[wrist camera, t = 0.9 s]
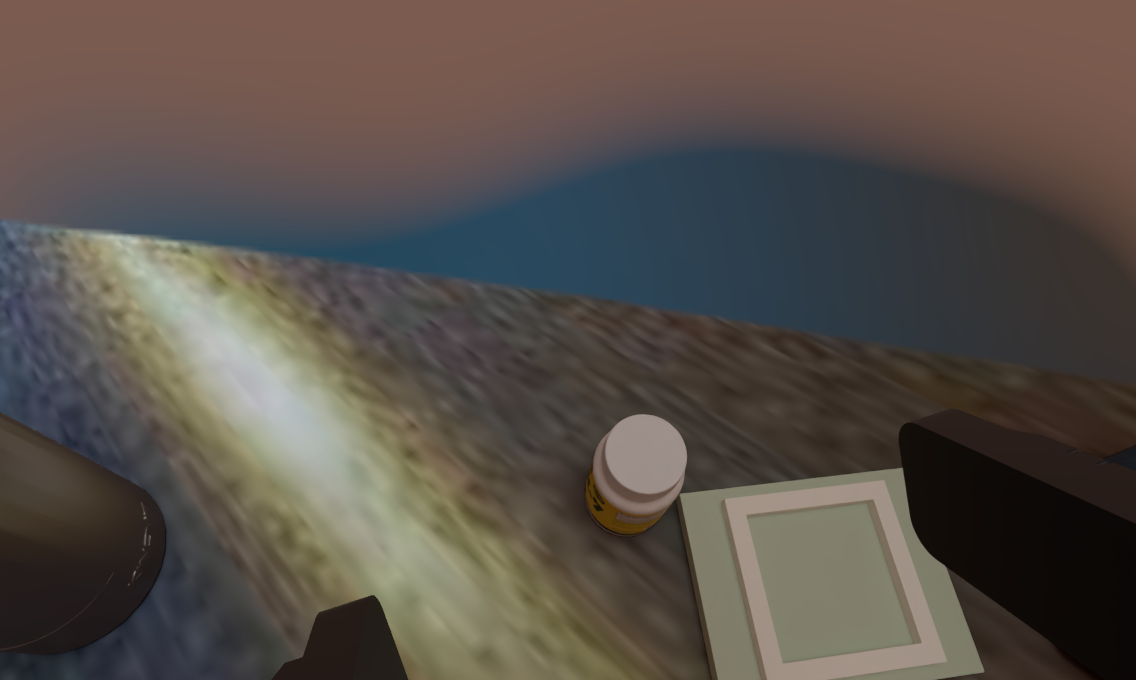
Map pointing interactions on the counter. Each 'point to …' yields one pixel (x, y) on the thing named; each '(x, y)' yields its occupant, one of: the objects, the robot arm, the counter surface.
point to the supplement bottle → (635, 475)
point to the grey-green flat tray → (821, 583)
